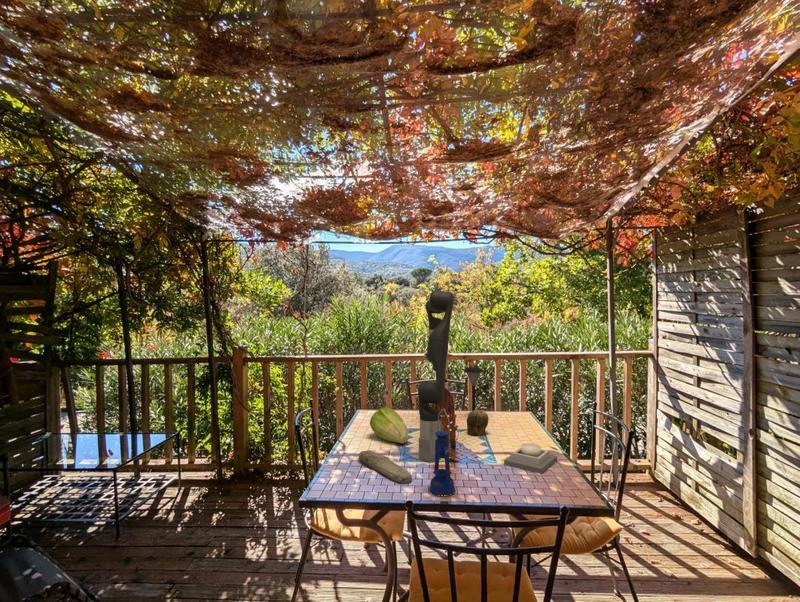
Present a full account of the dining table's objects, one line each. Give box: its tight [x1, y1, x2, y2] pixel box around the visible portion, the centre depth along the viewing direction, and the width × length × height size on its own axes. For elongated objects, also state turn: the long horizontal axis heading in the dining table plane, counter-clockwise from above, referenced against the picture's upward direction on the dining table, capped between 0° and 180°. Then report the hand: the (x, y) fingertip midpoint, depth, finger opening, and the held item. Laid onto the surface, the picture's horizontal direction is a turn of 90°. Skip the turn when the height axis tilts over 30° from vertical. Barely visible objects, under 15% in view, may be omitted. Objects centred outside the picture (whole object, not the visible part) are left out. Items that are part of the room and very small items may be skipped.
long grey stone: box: [358, 450, 413, 485], centre depth 187 cm, size 35×5×10 cm
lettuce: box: [369, 406, 409, 444], centre depth 225 cm, size 15×24×16 cm
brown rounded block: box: [466, 409, 489, 437], centre depth 233 cm, size 11×11×12 cm
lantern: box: [428, 408, 456, 497], centre depth 165 cm, size 11×9×30 cm
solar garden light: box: [462, 366, 485, 411], centre depth 256 cm, size 12×12×30 cm
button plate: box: [503, 447, 558, 474], centre depth 193 cm, size 18×16×4 cm
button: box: [520, 443, 542, 457], centre depth 193 cm, size 8×8×3 cm
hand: (435, 370), depth 242 cm, fingers closed
